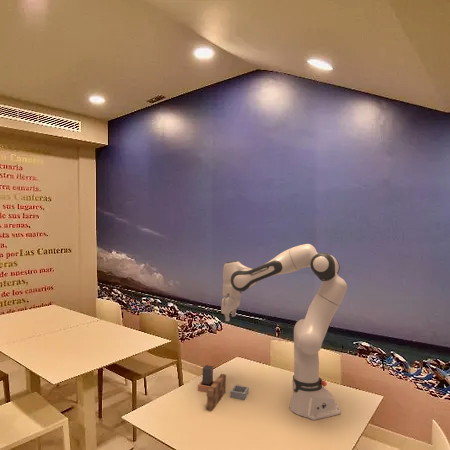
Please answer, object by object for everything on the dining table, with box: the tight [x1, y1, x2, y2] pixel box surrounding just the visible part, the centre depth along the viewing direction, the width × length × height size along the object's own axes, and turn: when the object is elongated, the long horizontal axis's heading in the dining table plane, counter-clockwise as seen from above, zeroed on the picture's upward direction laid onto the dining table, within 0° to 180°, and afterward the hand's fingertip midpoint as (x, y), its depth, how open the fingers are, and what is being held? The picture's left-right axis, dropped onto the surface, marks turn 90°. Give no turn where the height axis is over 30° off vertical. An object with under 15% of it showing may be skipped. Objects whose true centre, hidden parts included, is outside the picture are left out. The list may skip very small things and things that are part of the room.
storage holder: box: [229, 384, 250, 401], centre depth 171 cm, size 7×7×3 cm
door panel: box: [206, 373, 227, 412], centre depth 165 cm, size 18×4×9 cm, turn 160°
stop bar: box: [201, 364, 214, 386], centre depth 176 cm, size 4×4×11 cm
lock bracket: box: [197, 380, 216, 394], centre depth 177 cm, size 7×7×3 cm
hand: (230, 318), depth 182 cm, fingers open, 8 cm apart
